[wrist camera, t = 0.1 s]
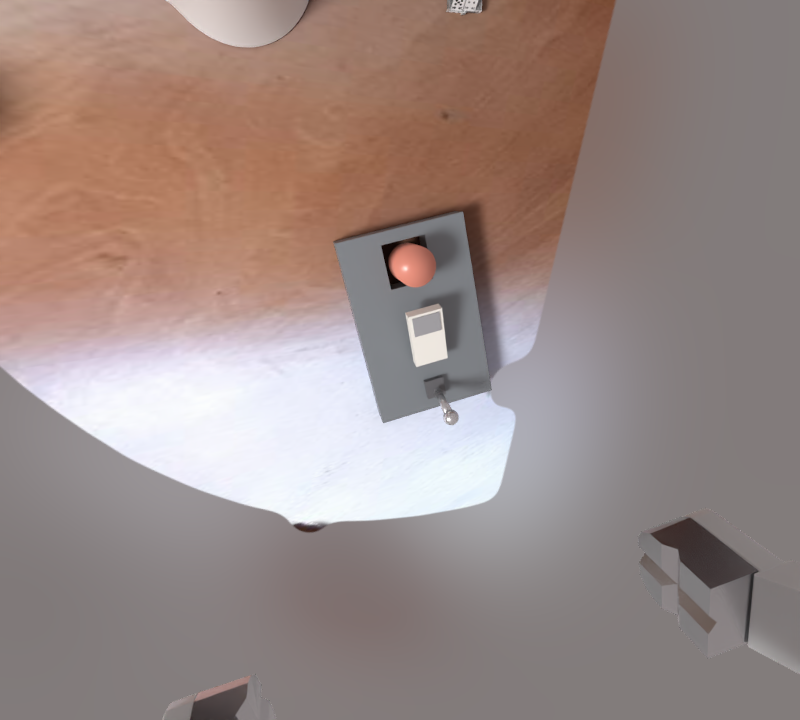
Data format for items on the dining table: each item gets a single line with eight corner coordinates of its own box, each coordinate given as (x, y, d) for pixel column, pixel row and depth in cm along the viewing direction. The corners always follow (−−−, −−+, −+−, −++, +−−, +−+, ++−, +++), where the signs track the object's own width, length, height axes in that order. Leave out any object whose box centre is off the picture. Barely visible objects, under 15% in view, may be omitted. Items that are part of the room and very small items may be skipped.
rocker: (405, 312, 51) (408, 318, 50) (438, 303, 51) (442, 308, 50) (413, 361, 55) (416, 367, 54) (444, 352, 55) (448, 358, 54)
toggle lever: (429, 386, 56) (445, 420, 51) (442, 382, 56) (460, 415, 51) (430, 396, 57) (446, 430, 52) (443, 392, 57) (461, 425, 53)
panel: (333, 241, 52) (336, 244, 48) (454, 211, 54) (466, 211, 50) (379, 413, 60) (384, 427, 56) (483, 381, 62) (495, 393, 58)
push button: (384, 247, 51) (392, 251, 47) (420, 238, 52) (431, 241, 47) (392, 285, 53) (401, 291, 48) (428, 275, 53) (439, 281, 49)
